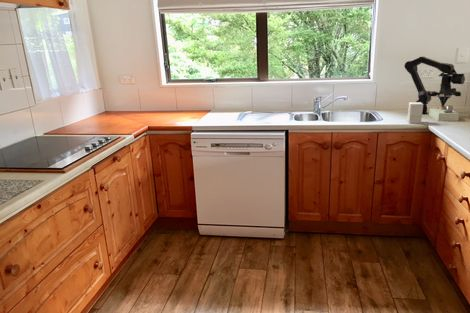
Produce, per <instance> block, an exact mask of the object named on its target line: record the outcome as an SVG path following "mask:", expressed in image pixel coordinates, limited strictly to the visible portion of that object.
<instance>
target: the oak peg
mask: <svg viewBox="0 0 470 313" xmlns="http://www.w3.org/2000/svg"><path fill="white" fill-rule="evenodd" d="M446 106H447V105H444V106H442V105H439V107H438V108H439V109H440V110H446Z"/></svg>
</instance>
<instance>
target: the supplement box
mask: <svg viewBox="0 0 470 313" xmlns="http://www.w3.org/2000/svg"><path fill="white" fill-rule="evenodd" d="M422 111H423V104H422V103H421V102H416V101H415V102H411V101H410V102H408V110H407V119H406V122H407V123H408V124H422V118H423V114H422Z"/></svg>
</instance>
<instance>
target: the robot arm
mask: <svg viewBox="0 0 470 313" xmlns="http://www.w3.org/2000/svg"><path fill="white" fill-rule="evenodd" d="M421 64H423V65H427V66H429V67H432V68H435V69H437V70H438V71H439V72H441V73H440V74H439V75H438V77H441V80H440V81H441V82H440V84H439V86H440V88H439V92H438V91H436V90H433V91H430V90H426V89H425V86H424V83H423V81H422V79H421V77H420V74H419V72H418V66H419V65H421ZM403 67H404V69H405V71H407V72H408V74H410V76H411V79H412V82H413V84H414V86H415V88H416V92H418V93H417V97H418V99H417V100H416V101H415V102H421V103H422V104H423V111H422V115H427V113H428V104H429V103H430V102H431V100H432V97H437V98H439V100H440V104H441V105H440V106H446V102H447V101H448V100H449V99H450V98H452V96H455V97H461V95H462V93H461V91H459V90H457V88H456V87H455V88H454V87H453V88H452V84H453V85H464V83H465V80H466V77H465V73H457V71H456V69H455V65H454V64H452V63H448V62H447V63H445V62H439V61H437V60H435V59H431V58H429V57H425V56H419V57H417V58H416V59H413V60H409V61H406V62H404V66H403Z"/></svg>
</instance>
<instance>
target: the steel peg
mask: <svg viewBox="0 0 470 313" xmlns="http://www.w3.org/2000/svg"><path fill="white" fill-rule="evenodd" d="M445 106H446V110H445V113H452V110H454V109H453V108H454V106H453V105H445Z"/></svg>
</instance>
